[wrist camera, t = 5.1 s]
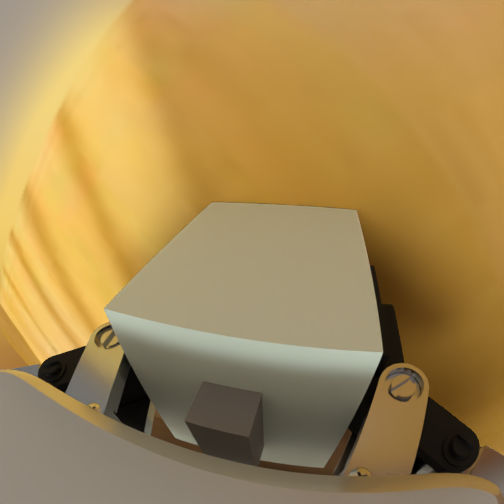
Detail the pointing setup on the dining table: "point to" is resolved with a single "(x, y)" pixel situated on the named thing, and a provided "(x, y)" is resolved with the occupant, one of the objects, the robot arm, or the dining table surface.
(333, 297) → the cabinet
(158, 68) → the dining table surface
